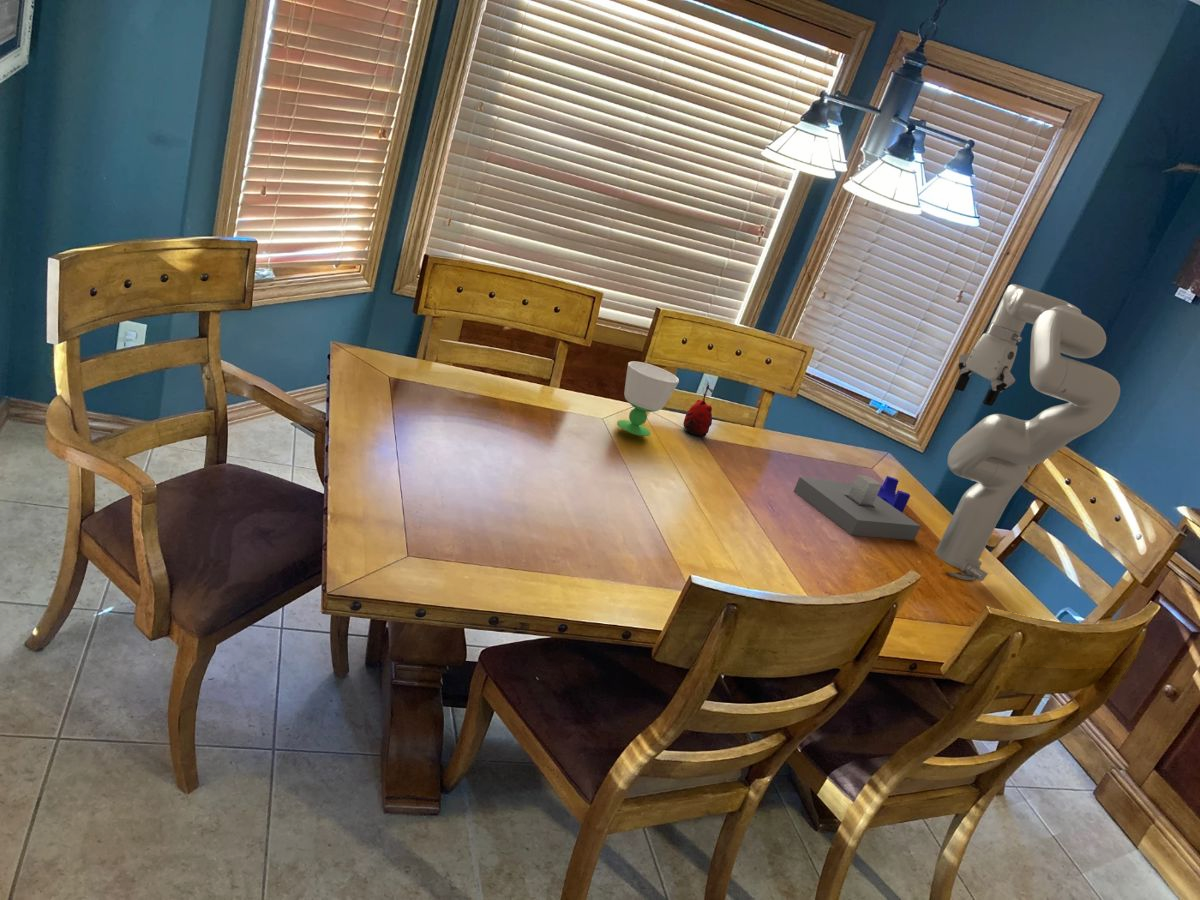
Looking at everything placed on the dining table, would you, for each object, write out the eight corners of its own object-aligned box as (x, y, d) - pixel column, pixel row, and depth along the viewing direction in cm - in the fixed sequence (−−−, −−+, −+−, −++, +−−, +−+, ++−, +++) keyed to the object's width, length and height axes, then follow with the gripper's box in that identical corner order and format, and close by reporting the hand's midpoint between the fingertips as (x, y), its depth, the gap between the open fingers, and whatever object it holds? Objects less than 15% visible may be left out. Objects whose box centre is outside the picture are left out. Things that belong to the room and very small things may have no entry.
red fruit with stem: (711, 437, 258) (730, 387, 253) (697, 438, 252) (716, 387, 248) (689, 425, 262) (708, 375, 257) (675, 426, 256) (694, 375, 252)
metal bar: (865, 520, 233) (881, 484, 230) (853, 519, 231) (869, 483, 227) (853, 511, 236) (869, 476, 233) (841, 510, 234) (857, 475, 231)
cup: (640, 420, 251) (659, 364, 246) (668, 442, 241) (690, 385, 236) (598, 415, 243) (618, 358, 238) (626, 437, 233) (647, 378, 228)
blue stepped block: (873, 493, 258) (881, 474, 256) (888, 498, 258) (897, 479, 257) (885, 510, 247) (894, 490, 245) (900, 515, 247) (910, 495, 245)
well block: (914, 540, 231) (920, 525, 229) (850, 535, 219) (857, 520, 218) (855, 497, 248) (861, 484, 247) (793, 491, 236) (799, 476, 235)
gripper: (1039, 348, 230) (1008, 412, 236) (985, 325, 244) (957, 386, 249) (1021, 343, 226) (989, 408, 232) (967, 320, 240) (938, 382, 246)
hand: (972, 397), depth 241 cm, fingers open, 9 cm apart
